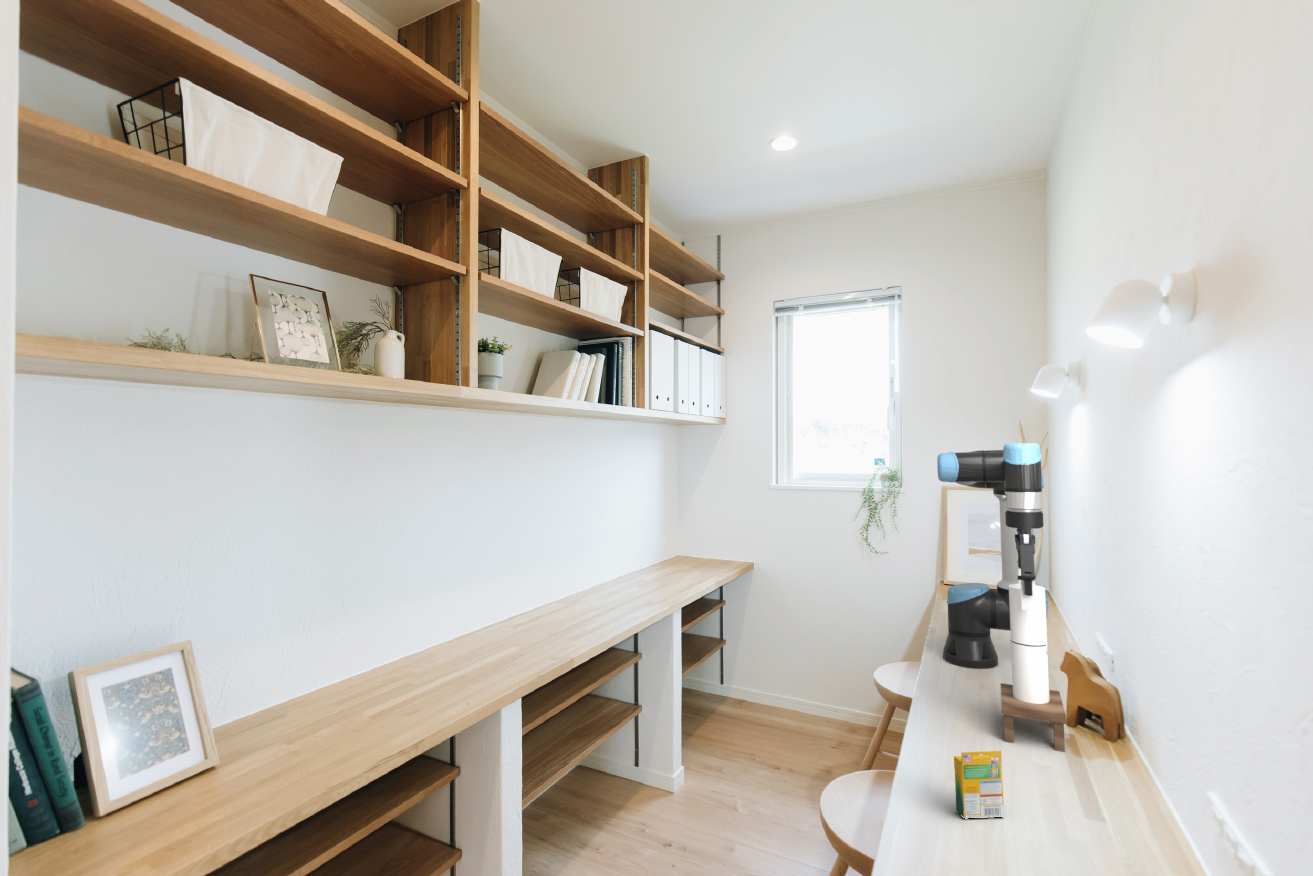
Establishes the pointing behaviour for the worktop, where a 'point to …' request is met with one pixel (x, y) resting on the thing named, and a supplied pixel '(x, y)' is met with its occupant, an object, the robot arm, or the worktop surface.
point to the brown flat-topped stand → (1034, 714)
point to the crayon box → (979, 784)
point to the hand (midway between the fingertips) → (1027, 603)
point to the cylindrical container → (1029, 647)
